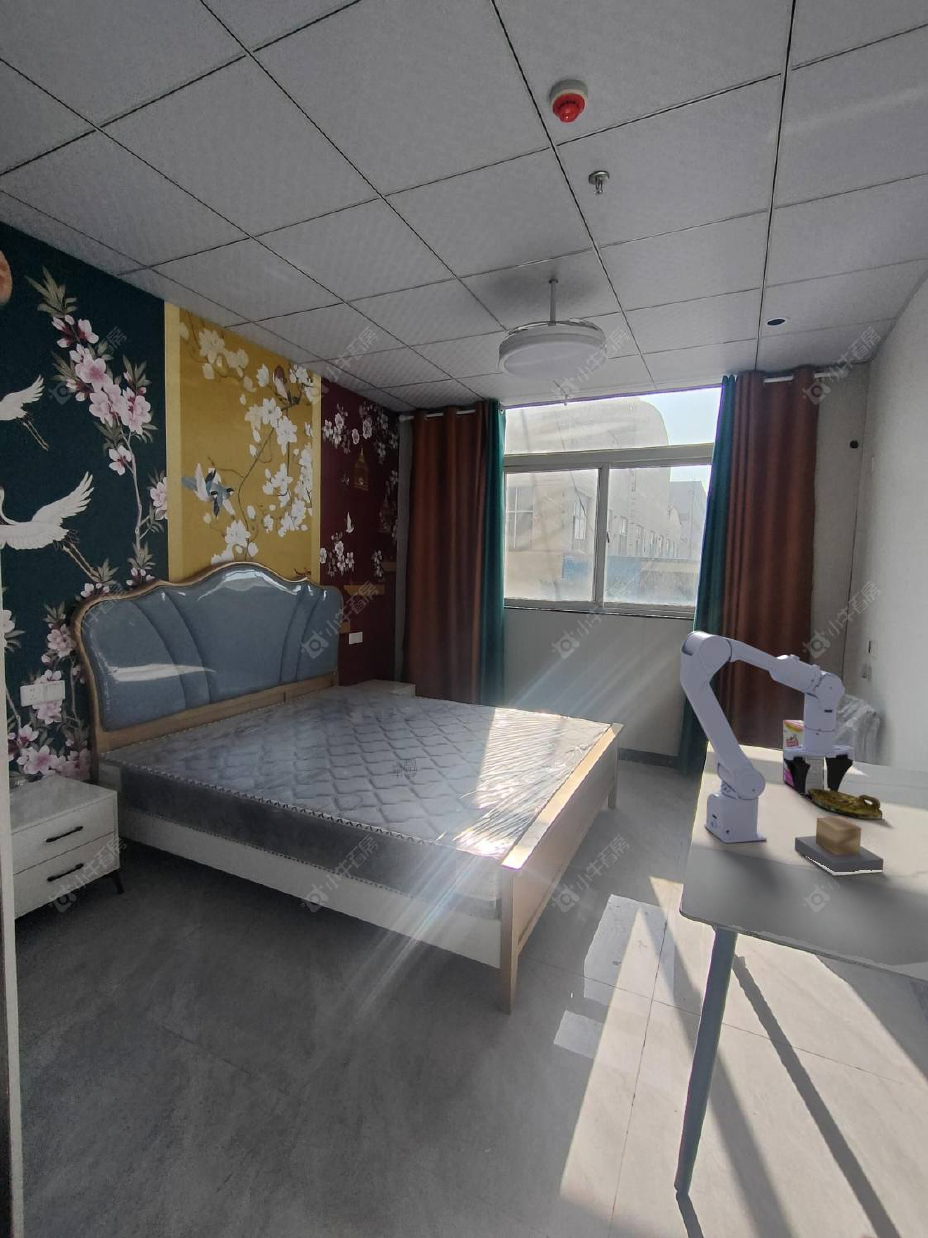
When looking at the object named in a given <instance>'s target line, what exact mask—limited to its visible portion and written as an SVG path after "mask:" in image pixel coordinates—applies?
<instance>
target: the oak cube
mask: <svg viewBox="0 0 928 1238" xmlns="http://www.w3.org/2000/svg"><path fill="white" fill-rule="evenodd" d="M815 836H816V843H817V844H819V845H821V846H822V847H824V848H825V849H827V850H828V851H830V852H831V853H833V854H835V855H846V854H858V853H860V846H861V841H862V839H861V837H862V827H860V826H859V825H857V824H855V823H853V822H852V821H850V820H848V819H846V818H844V817H843V816H840V815H839V816H838V815H837V816H825V817H823V816H822V817H816V831H815Z"/></svg>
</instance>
